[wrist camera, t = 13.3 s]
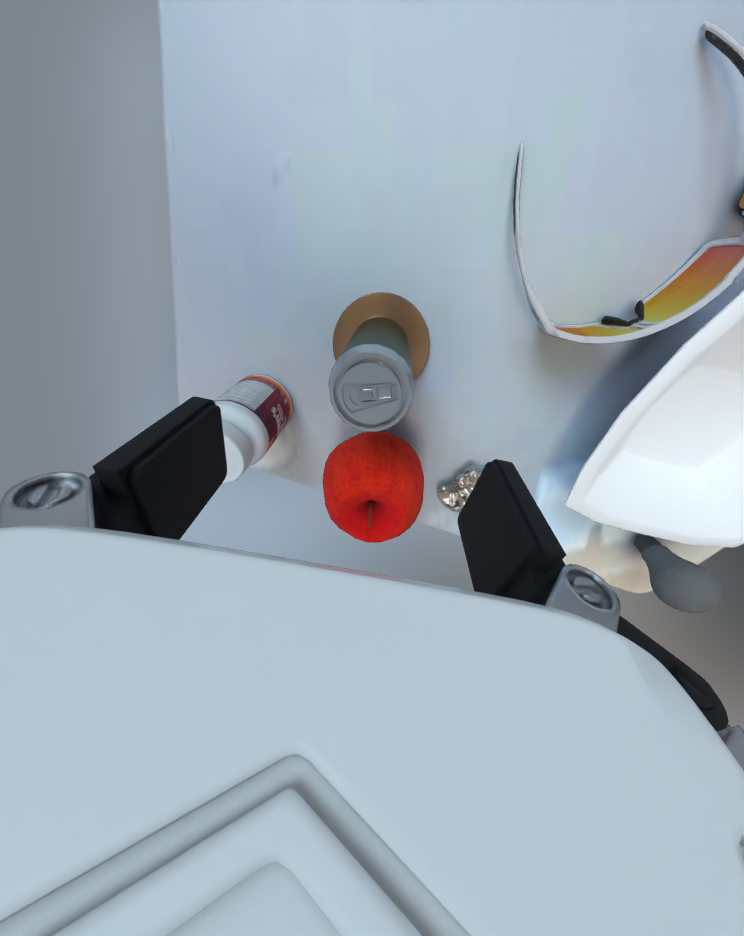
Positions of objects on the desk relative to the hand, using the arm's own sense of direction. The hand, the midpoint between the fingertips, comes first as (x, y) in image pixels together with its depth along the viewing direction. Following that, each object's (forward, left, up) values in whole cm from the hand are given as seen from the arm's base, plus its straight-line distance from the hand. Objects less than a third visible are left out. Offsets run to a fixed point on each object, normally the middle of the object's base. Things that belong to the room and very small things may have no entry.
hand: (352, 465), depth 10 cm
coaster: (0, -1, -21) cm, 21 cm away
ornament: (+14, -14, -21) cm, 29 cm away
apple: (+2, -12, -21) cm, 24 cm away
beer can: (0, -1, -21) cm, 20 cm away
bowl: (+32, -1, -21) cm, 38 cm away
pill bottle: (-11, -9, -21) cm, 25 cm away
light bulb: (+39, -17, -21) cm, 47 cm away
